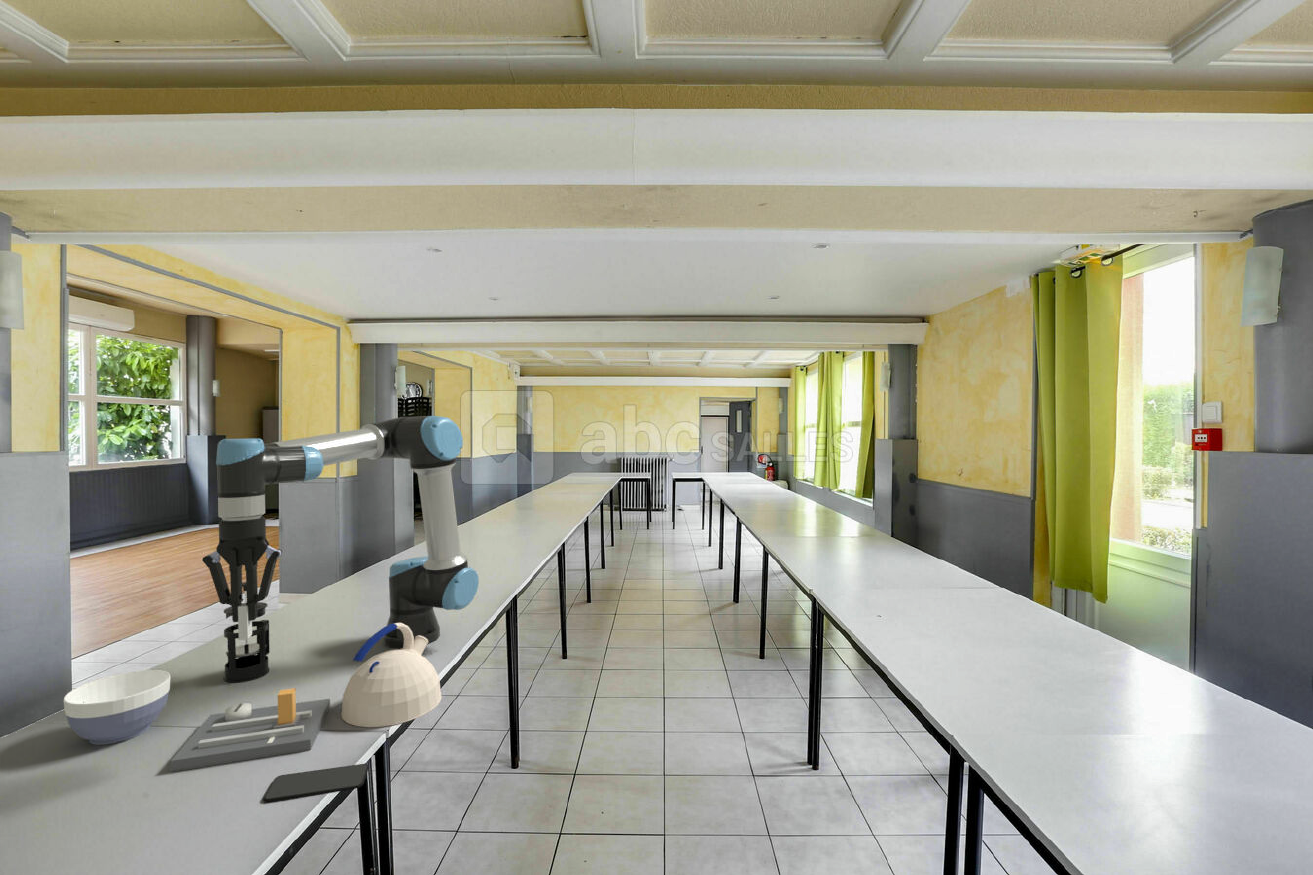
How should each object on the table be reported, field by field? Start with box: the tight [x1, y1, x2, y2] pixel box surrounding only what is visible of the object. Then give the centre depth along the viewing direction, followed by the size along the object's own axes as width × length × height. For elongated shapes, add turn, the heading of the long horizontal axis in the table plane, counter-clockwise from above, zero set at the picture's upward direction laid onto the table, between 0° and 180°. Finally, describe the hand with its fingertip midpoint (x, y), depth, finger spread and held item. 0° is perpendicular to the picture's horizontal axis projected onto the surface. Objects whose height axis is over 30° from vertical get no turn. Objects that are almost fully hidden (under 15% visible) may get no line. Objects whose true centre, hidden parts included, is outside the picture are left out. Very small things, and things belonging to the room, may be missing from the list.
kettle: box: [340, 623, 442, 728], centre depth 131 cm, size 20×21×18 cm
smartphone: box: [263, 763, 369, 804], centre depth 102 cm, size 7×1×15 cm
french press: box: [223, 581, 271, 684], centre depth 148 cm, size 12×9×23 cm
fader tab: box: [273, 688, 300, 729], centre depth 117 cm, size 4×4×7 cm
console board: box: [170, 698, 331, 773], centre depth 118 cm, size 22×18×4 cm
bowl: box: [63, 669, 171, 746], centre depth 119 cm, size 16×16×10 cm
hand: (245, 637), depth 116 cm, fingers closed
